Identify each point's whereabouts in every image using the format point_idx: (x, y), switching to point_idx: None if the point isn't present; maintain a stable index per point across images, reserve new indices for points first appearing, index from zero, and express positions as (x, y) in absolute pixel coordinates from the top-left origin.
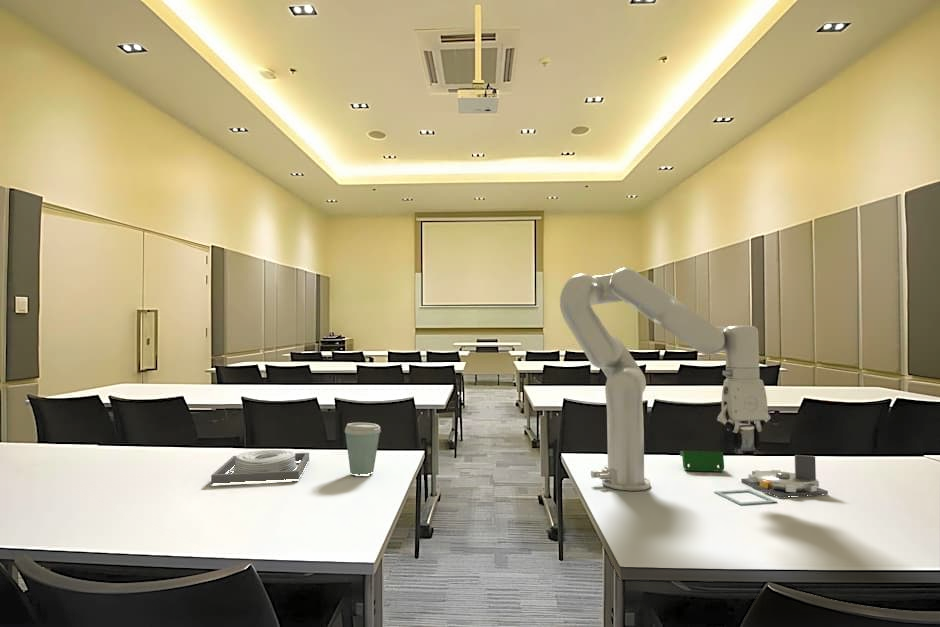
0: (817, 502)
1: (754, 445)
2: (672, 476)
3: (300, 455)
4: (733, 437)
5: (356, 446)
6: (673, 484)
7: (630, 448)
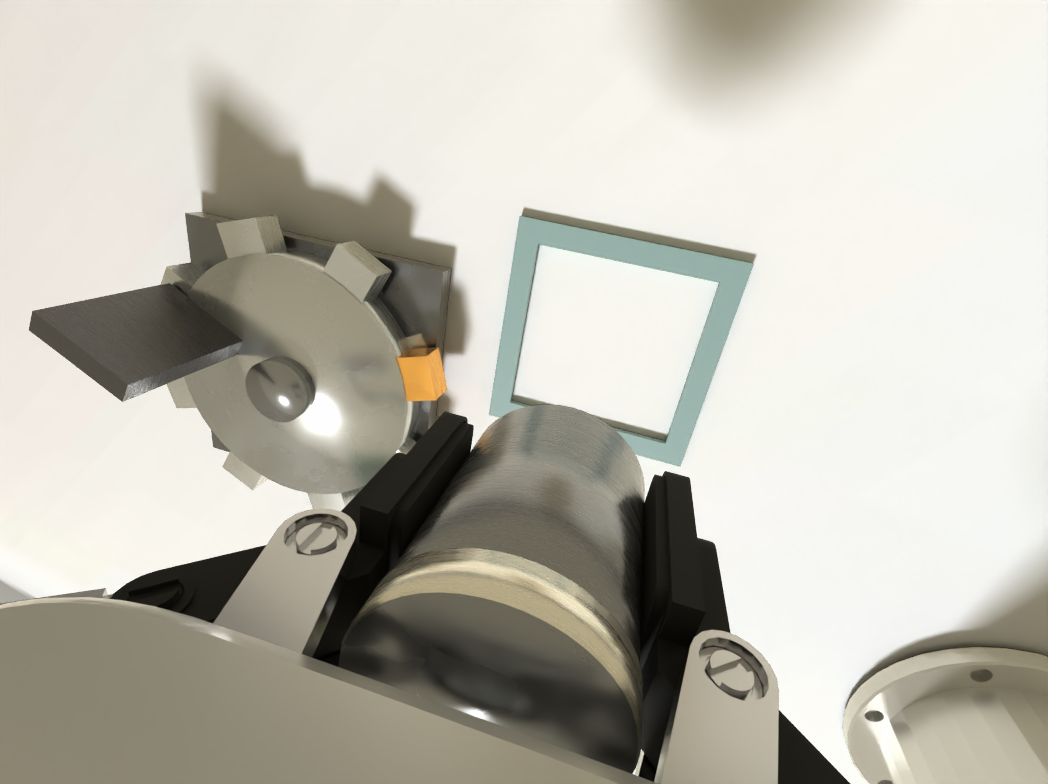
0: (324, 140)
1: (490, 436)
2: None
3: None
4: (719, 607)
5: None
6: (744, 625)
7: None
